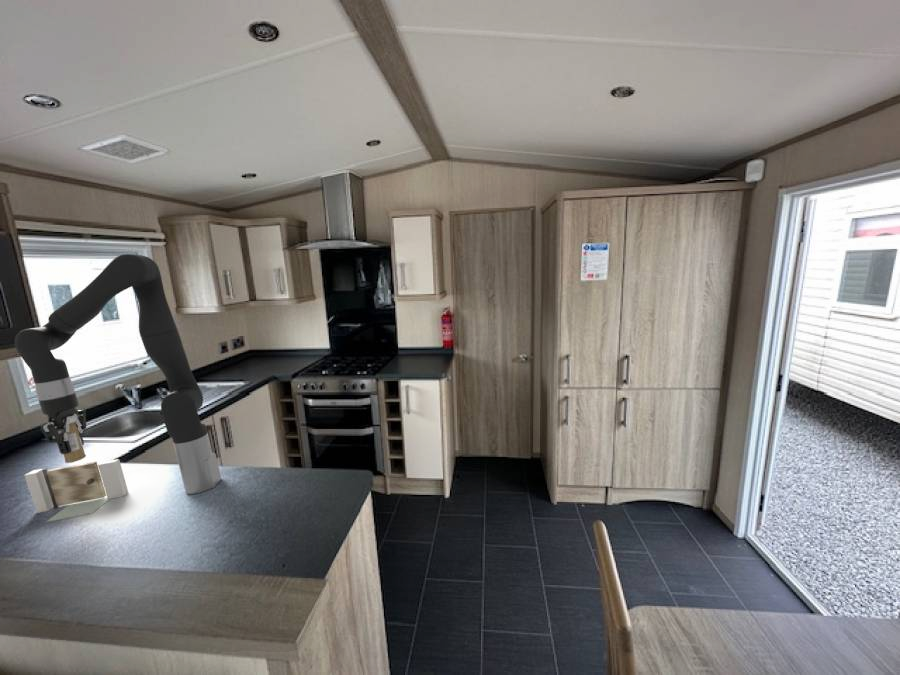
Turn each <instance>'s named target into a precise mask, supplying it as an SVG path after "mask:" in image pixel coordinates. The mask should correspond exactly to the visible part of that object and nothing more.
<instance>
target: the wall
mask: <svg viewBox="0 0 900 675" xmlns="http://www.w3.org/2000/svg"><path fill="white" fill-rule="evenodd" d="M97 465H98V469H99V472H100V475H101V479H102V482H103V486H104V489H105V493H106V498H111V499H116V498H121V497H125V496H126V495H128V494H129V490H128V485H127V483H126V479H125V475H124V471H123V469H122V468H123V467H122V465H121V462H120V459H118V458H117V459H113V460H106V461H102V462H100V463H98V464H97Z"/></svg>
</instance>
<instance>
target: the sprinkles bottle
mask: <svg viewBox="0 0 900 675" xmlns="http://www.w3.org/2000/svg"><path fill="white" fill-rule="evenodd" d="M69 417H70V418H69V422H68V424H69V430H70V431H69V432H68V441H69V444H70V447H71V452H70V453H68V454H63V457H64V463H66V464H70V463H75V462H79V461H80V460H83V459H85V458H86V457H87V455H86V454H85V453H86V452H85V450H84V447H83V446H84V445H82V441H81V438H80V436H79V433H78V429H77V426H76V423H75V421H76V420H75V417H74V416H69ZM63 422H64V421H63ZM63 430H64V429H59V430H57V431H63ZM60 436H61V437H62V434H60Z"/></svg>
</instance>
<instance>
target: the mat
mask: <svg viewBox="0 0 900 675" xmlns="http://www.w3.org/2000/svg"><path fill="white" fill-rule="evenodd" d="M111 499H112V498H107V497H106V498H100V499H94V500H89V501H87V502H86V501H84V502H78V503H73V504H71V505H70V504H68V505H67V506H65V507H64V508H62V510H60V511H58V512H57V513H56V514H54V515H53V516H52V517H50V518H49V519H47V520H46V523H49V522H54V521H59V520H64V519H70V518H74V517H80V516H85V515H91V514H94V513H95V512H97V510H99V509H100V508H101V507H102V506H103V505H105V504H106V503H107V502H108V501H110V500H111Z"/></svg>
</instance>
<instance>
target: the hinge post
mask: <svg viewBox="0 0 900 675" xmlns="http://www.w3.org/2000/svg"><path fill="white" fill-rule="evenodd" d="M44 469H45V468H39V469H33V470H31V471H29V472H27V473H25V474H24V478H25V482H26V484H27V488H28V490H29V494H30V496H31V497H30V498H31V499H32V503H33V507H34V510H35V512H36V514H39V513H45V512H48V511H50V510H52V509H53V508H54V506H53V503H52V499H51V496H50V493H49V490H48V487H47V484H46V480H45V477H44V474H43V471H42V470H44Z"/></svg>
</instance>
